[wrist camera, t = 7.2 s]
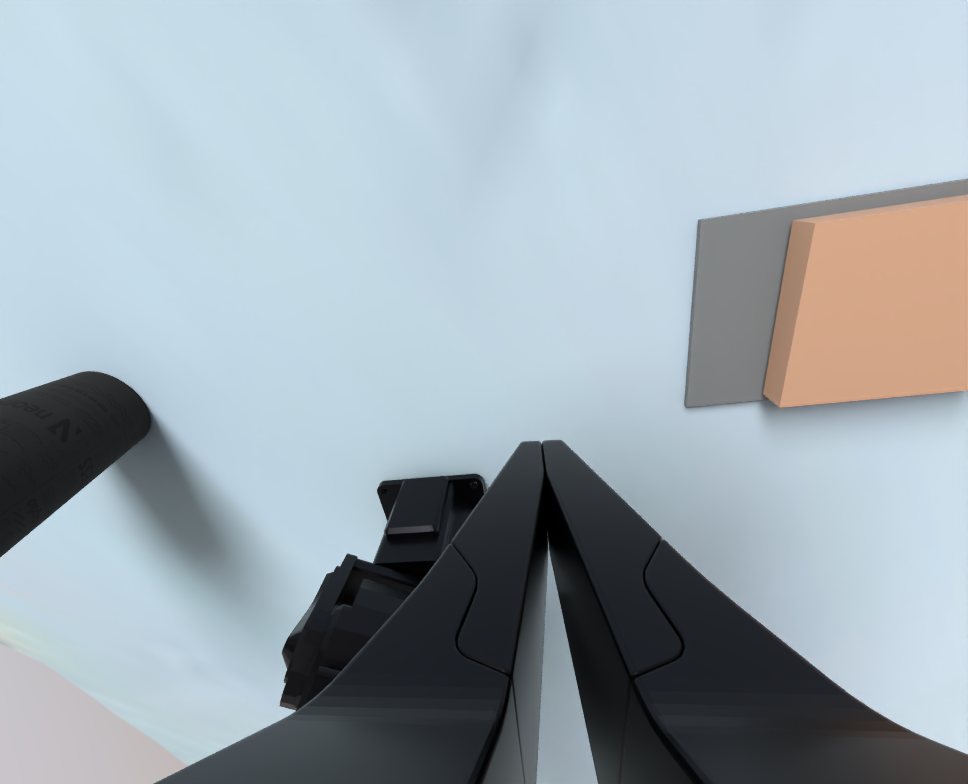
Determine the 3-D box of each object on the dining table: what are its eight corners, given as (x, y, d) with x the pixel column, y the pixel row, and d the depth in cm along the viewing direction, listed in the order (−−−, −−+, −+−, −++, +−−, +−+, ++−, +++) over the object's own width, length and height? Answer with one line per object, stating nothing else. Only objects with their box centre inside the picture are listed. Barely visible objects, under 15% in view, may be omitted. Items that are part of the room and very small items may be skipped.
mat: (969, 377, 19) (975, 379, 19) (684, 404, 21) (686, 407, 21) (1057, 164, 15) (1067, 164, 15) (698, 220, 17) (701, 220, 17)
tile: (760, 391, 20) (966, 371, 19) (779, 407, 19) (1004, 387, 18) (789, 219, 17) (1044, 182, 15) (815, 223, 15) (1100, 181, 14)
